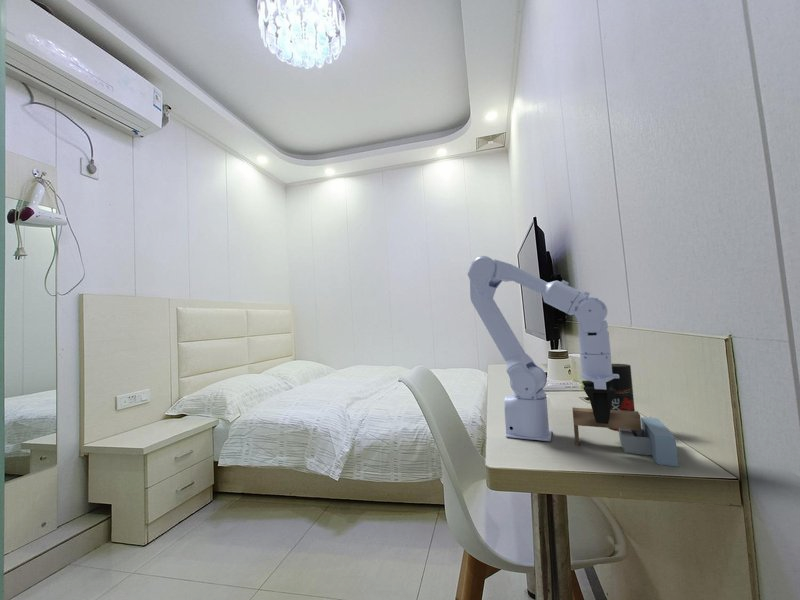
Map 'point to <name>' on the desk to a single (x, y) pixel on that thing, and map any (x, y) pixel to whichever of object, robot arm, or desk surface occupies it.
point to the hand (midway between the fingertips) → (600, 418)
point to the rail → (616, 420)
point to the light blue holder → (651, 442)
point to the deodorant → (622, 389)
